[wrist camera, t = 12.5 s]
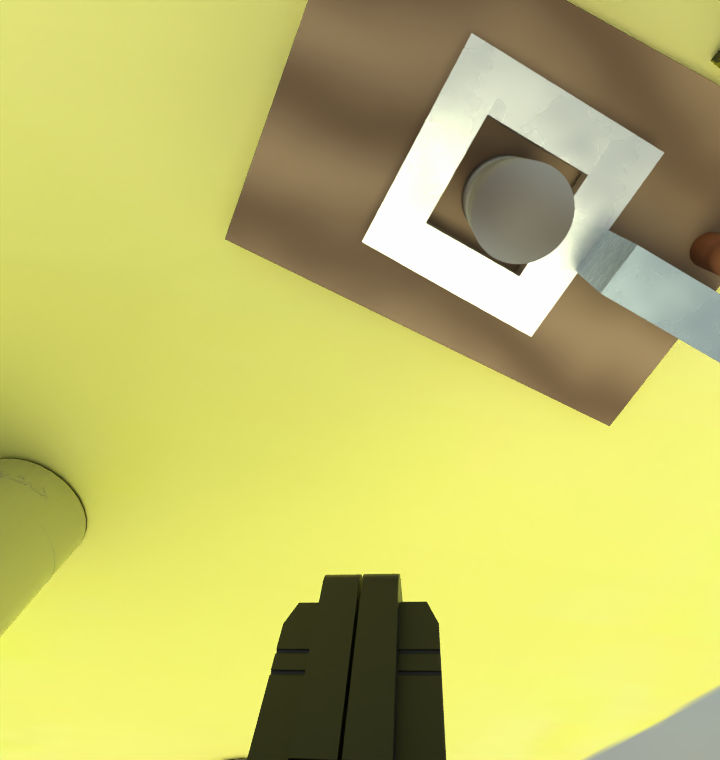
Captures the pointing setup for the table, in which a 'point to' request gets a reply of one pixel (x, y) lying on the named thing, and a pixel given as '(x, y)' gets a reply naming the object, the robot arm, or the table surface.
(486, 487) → the table surface
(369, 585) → the robot arm
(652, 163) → the flange plate
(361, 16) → the flange base
